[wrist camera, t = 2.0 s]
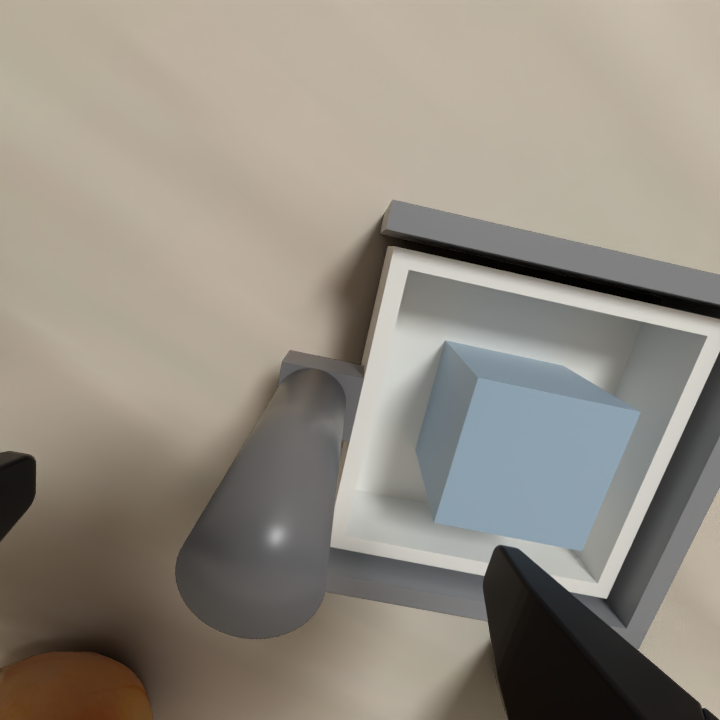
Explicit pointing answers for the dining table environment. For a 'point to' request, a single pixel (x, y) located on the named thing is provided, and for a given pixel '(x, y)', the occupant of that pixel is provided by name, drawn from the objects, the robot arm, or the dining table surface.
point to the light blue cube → (519, 446)
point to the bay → (680, 480)
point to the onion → (71, 689)
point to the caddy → (401, 432)
